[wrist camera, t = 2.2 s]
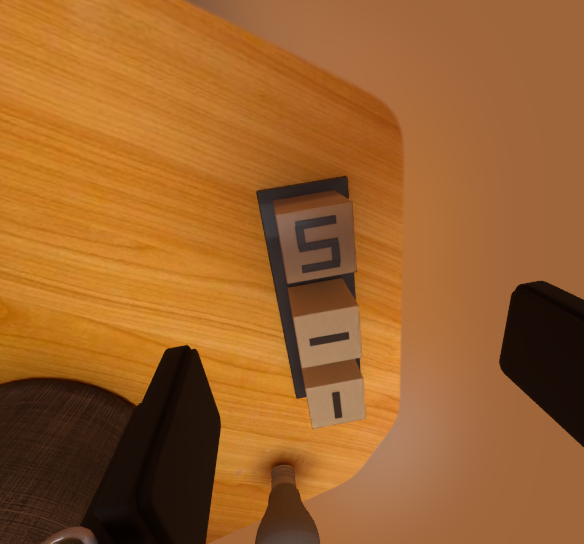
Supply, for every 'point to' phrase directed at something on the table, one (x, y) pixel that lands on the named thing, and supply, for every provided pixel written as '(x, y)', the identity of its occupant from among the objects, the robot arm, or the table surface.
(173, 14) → the table surface
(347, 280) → the word board
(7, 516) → the planter
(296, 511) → the light bulb
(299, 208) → the letter s block
